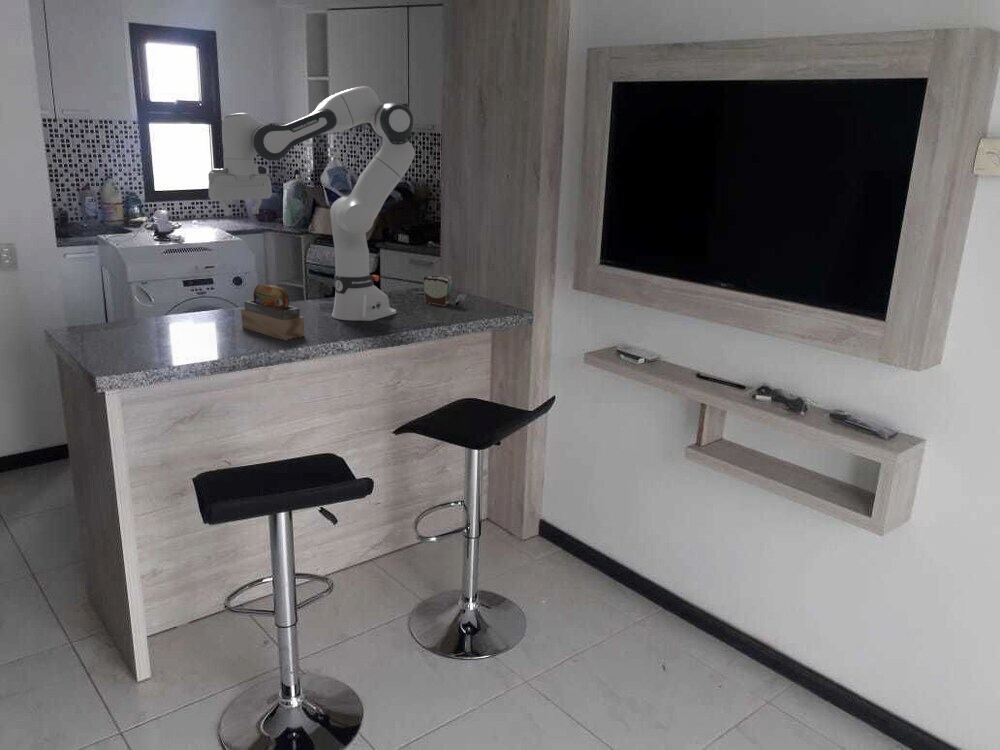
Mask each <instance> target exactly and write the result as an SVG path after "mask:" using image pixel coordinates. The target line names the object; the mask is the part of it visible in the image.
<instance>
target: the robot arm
mask: <svg viewBox="0 0 1000 750" xmlns="http://www.w3.org/2000/svg"><path fill="white" fill-rule="evenodd" d="M362 124H367V126H368V127H369V129H370V130H371V132H373V133H374V134H375V135H376V136H377V137H379V138H382V144H381V147H380V149H379V151H378V152H377V153H376V154H375V155H374V156H373V158H372V159H371V161H370V162H369V163H368V165H367V166H366V167H365V168H364V169H363V171H362V172H361V173H360V175H358V179H357V181H356V183H355V185H354V187H353V188H352V190H351V192H350V193H349V195H348V196H342V197H339V198H337V199H336V200H335V201H334V202H333V203H332V205H331V207H330V210H329V213H330V222H331V232H332V238H333V246H334V256H335V257H334V263H335V264H334V265H335V274H334V276H333V277H334V281H333V283H334V290H335V293H334V294H335V295H334V302H333V309H332V313H331V317H332V318H333V319H336V320H341V321H368V322H371V321H372V322H373V321H376V320H379V319H382V318H386V317H389V316H393V315H396V314H397V310H396V309H394V308H392V307H390V299H389V296H388V295H387V294H386V293H384V292H383V291H382V290H380V289H379V288H378V287H377V286H376V285H374V281H375V282H379V280H380V277H379V275H376V274H372V275H371V274H370V250H369V247H368V246H369V245H368V241H367V235H366V233H368V232H369V231H370V230H371V229H372V227H373V226H374V222H375V220H376V218H377V217H378V215H379V213H380V212H381V210H382V208H383V205H384V204H385V202H386V200H387V199H388V197H389V196H390V195H391V193H392V191H394V189H395V188H396V187H397V185H398V184H399V183H400V181H401V180H402V179H403V178H404V176H405V174H406V173H407V172H408V170H409V168H410V166H411V164H412V162H413V160H414V159H415V155H416V152H415V148H414V147H413V145H412V143H411V142H410V140H411V139H412V138H411V137H412V132H413V127H414V116H413V114H412V111H411V110H410V109H409V108H408V106H405V104H403V103H400V102H399V103H398V102H387V103H386V102H385V103H384V102H382V101H380V100H379V97H378V95H377V93H376V91H374V89H372V88H371V87H370V86H367V85H361V86H357V87H356V86H355V87H352V88H348V89H345V90H341V91H339V92H337V93H336V92H335V94H331V95H330V96H328V97H326V98H325V99H323V100H322V101H320V102H319V103H318V104H317V105H316V107H315V109H314V110H313V111H312V112H311V113H309V114H307V115H305V116H303V117H300V118H299V119H296V120H294V121H292V122H289V123H287V124H280V125H278V124H267V123H265V122H262V121H260V120H258V119H256V118H255V117H253V116H252V115H250V113H248V112H238V113H231V114H228V115H225V117H224V118H223V120H222V126H221V135H222V136H221V139H222V146H223V151H224V152H223V156H222V157H223V168H213V169H212V170H210V171H209V172H208V198H209V199H210V200H211V201H216V202H220V206H221V207H222V208H223V210H224V215H225V216H227V217H228V216H232V215H233V210H232V209H231V208H229V206H228V205H229V201H238V200H239V201H242V200H253V202H254V206H253V207H250V208H251V214H253V215H259V212H260V211H259V208H260V207H261V205H262V200H263V199H264V200H265V199H266V200H267V199H270V198H271V197H272V195H273V190H272V189H273V188H272V181H271V178H270V176H269V174H270V169H269V168H268V167H267V166H264V165H261V164H258V163H256V162H255V158H254V157H255V156H260V157H261V158H262V159H265V160H267V161H271V162H272V161H273V162H274V161H279V160H280V159H282V158H284V157H285V156H286V155H287V154H288V153H289V152H290V150H291V149H292V148H293V147H295V146H297V145H299V144H301V143H303V142H305V141H309V140H310V139H313V138H315V137H318V136H320V135H324V134H325V135H326V134H333V133H339V132H343V131H346V130H349V129H351V128H355V127H356V126H358V125H362Z"/></svg>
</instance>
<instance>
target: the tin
mask: <svg viewBox="0 0 1000 750" xmlns="http://www.w3.org/2000/svg"><path fill="white" fill-rule="evenodd" d="M253 300H254V302H255V303H256V304H260V305H264V306H267V307H271V308H275V309H279V310H288V307H289V306H290V305H289V304H290V301H289V300H290V299H289V294H288V292H287V290H286V289H284V288H283V287H280V286H276V285H270V284H262V283H261V284H257V286H256V287H255V289H254V291H253Z"/></svg>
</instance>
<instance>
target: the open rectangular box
mask: <svg viewBox="0 0 1000 750" xmlns="http://www.w3.org/2000/svg"><path fill="white" fill-rule="evenodd" d="M243 304H244V307H243V308H242V307H241V308H240V309H241V326H242V327H243V329H246V330H249V329H250V330H249V331H253V332H256V333H259V334H263V335H265V336H269V337H273V338H275V337H276V339H278V338H280V339H279V340H282V339H283V340H282V341H289V340H288V339H290V340H293V339H292V338H295V339H298V338H297V337H299V338H303V337H302V336H304V337H305V324H304V323H305V322H304V321H305V320H304V317H303V316H301V315H300V313H301V312H300V308H299V307H295V306H292V305H289V307H288V310H279V309H275V308H271V307H267V306H264V305H260V304H256V303H255V302H254V299H252V300H245V301H243ZM242 327H241V328H242Z"/></svg>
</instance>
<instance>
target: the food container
mask: <svg viewBox="0 0 1000 750" xmlns="http://www.w3.org/2000/svg"><path fill="white" fill-rule="evenodd" d="M421 278H422V279H421V281H422V282H423V293H424V302H428V303H427V304H431V303H432V304H433V305H436V306H444V307H447V306H449V301H450V293H451V285H452V284H453V279H452V277H451V276H450V275H447V274H446V275H445V274H424V275H422V277H421Z"/></svg>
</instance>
